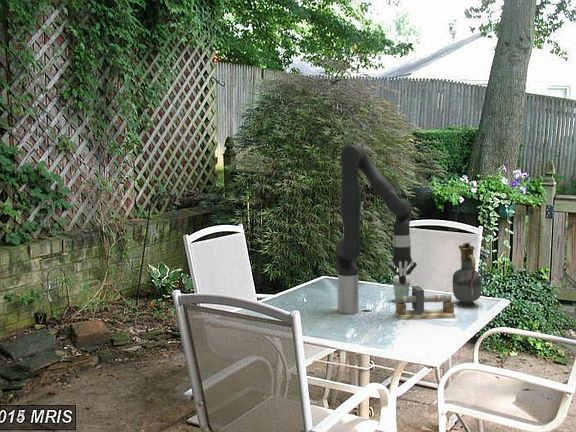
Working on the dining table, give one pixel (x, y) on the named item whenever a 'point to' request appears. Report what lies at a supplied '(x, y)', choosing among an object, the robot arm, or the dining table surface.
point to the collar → (418, 299)
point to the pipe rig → (428, 313)
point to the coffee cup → (401, 287)
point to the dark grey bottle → (467, 278)
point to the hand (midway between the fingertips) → (402, 284)
